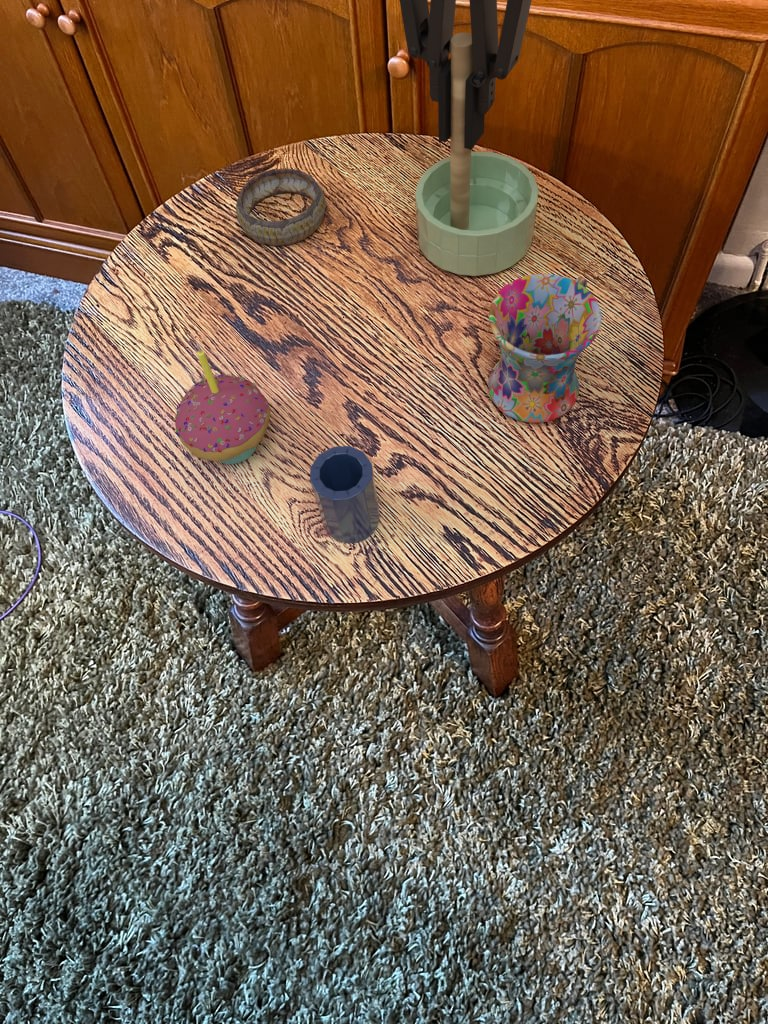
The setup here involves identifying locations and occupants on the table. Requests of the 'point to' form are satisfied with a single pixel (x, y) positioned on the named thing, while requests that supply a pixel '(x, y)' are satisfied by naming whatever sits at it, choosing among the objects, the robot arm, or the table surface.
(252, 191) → the decorative ring
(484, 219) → the bowl
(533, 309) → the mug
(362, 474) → the holder
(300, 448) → the table surface
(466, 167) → the stick
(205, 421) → the cupcake
